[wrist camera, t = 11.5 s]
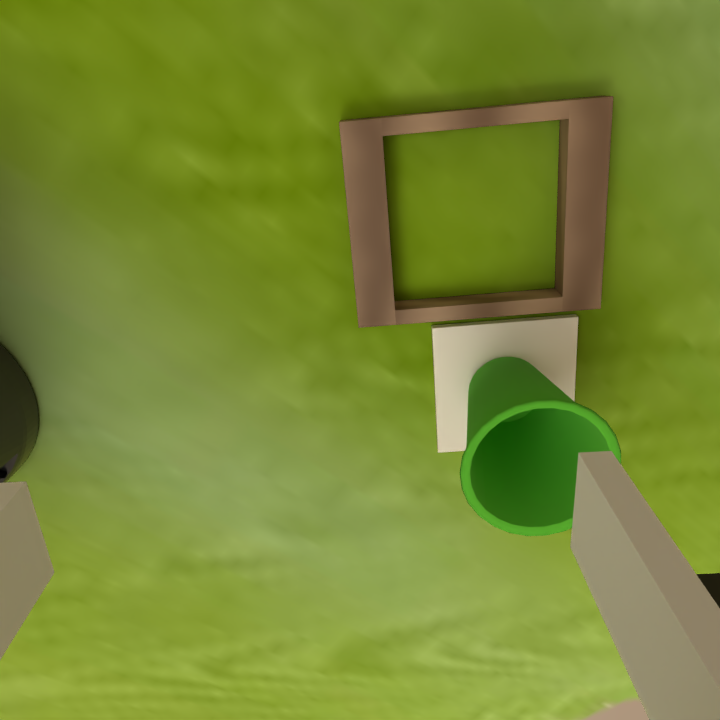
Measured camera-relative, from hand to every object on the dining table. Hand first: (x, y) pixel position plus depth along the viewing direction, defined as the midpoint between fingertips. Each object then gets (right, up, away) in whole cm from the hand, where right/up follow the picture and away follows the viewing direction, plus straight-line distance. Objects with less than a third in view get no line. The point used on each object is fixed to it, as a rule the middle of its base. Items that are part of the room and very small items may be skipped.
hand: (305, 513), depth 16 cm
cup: (+12, +2, +31) cm, 33 cm away
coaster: (+12, +2, +31) cm, 34 cm away
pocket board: (+9, +13, +27) cm, 31 cm away
